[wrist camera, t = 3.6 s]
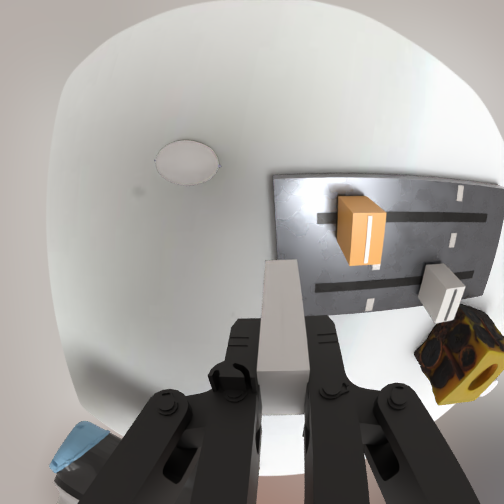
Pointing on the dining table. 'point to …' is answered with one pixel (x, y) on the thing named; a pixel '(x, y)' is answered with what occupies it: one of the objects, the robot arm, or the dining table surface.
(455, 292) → the fader
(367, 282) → the console
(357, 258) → the fader
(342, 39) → the dining table surface
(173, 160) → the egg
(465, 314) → the candle
